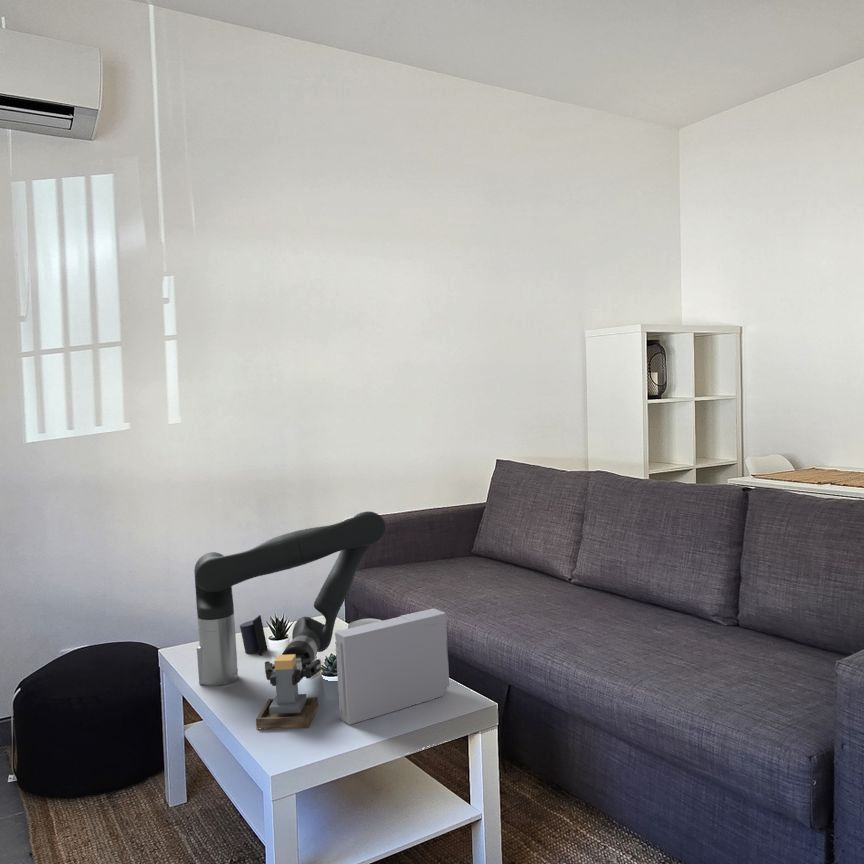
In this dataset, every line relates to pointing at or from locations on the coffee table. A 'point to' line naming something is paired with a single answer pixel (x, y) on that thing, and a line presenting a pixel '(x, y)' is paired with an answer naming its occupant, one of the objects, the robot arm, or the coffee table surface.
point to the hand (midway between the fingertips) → (283, 681)
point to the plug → (286, 687)
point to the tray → (287, 716)
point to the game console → (391, 664)
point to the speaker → (254, 636)
